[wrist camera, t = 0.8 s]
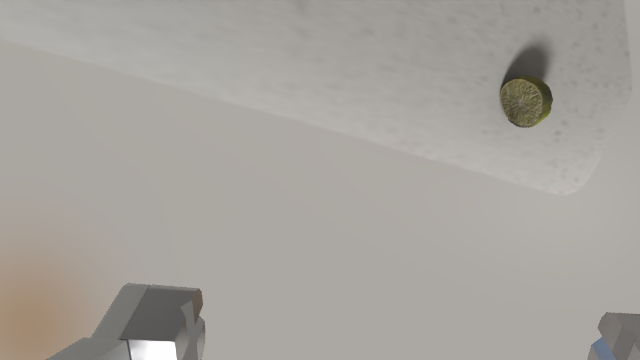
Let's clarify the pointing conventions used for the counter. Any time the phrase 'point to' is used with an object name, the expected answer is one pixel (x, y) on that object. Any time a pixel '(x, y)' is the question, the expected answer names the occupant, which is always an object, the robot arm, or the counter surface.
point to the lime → (526, 101)
